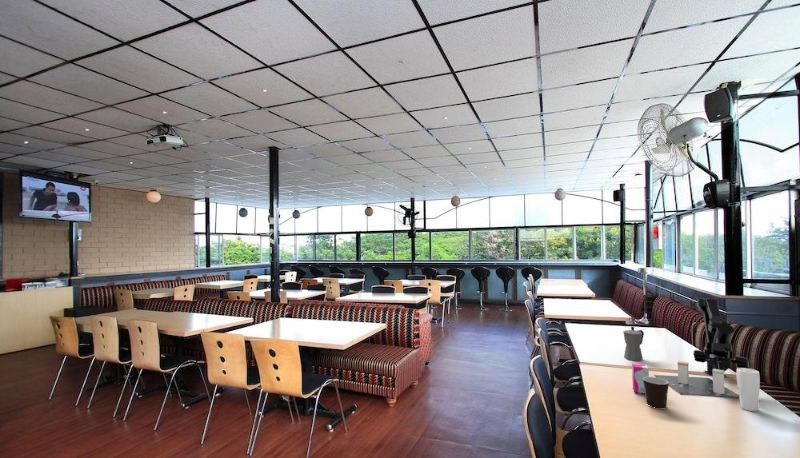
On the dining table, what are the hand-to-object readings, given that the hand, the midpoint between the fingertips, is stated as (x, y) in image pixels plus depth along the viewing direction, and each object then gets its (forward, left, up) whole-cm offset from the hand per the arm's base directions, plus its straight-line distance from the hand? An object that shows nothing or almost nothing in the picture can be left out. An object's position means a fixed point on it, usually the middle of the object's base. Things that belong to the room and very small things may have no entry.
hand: (719, 376), depth 168 cm
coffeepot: (-49, -15, -7) cm, 52 cm away
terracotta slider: (-9, -10, -7) cm, 15 cm away
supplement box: (+5, -33, -7) cm, 34 cm away
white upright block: (+1, -1, -7) cm, 7 cm away
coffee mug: (+19, -32, -7) cm, 38 cm away
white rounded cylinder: (+17, +1, -7) cm, 19 cm away
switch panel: (-7, -6, -7) cm, 12 cm away
